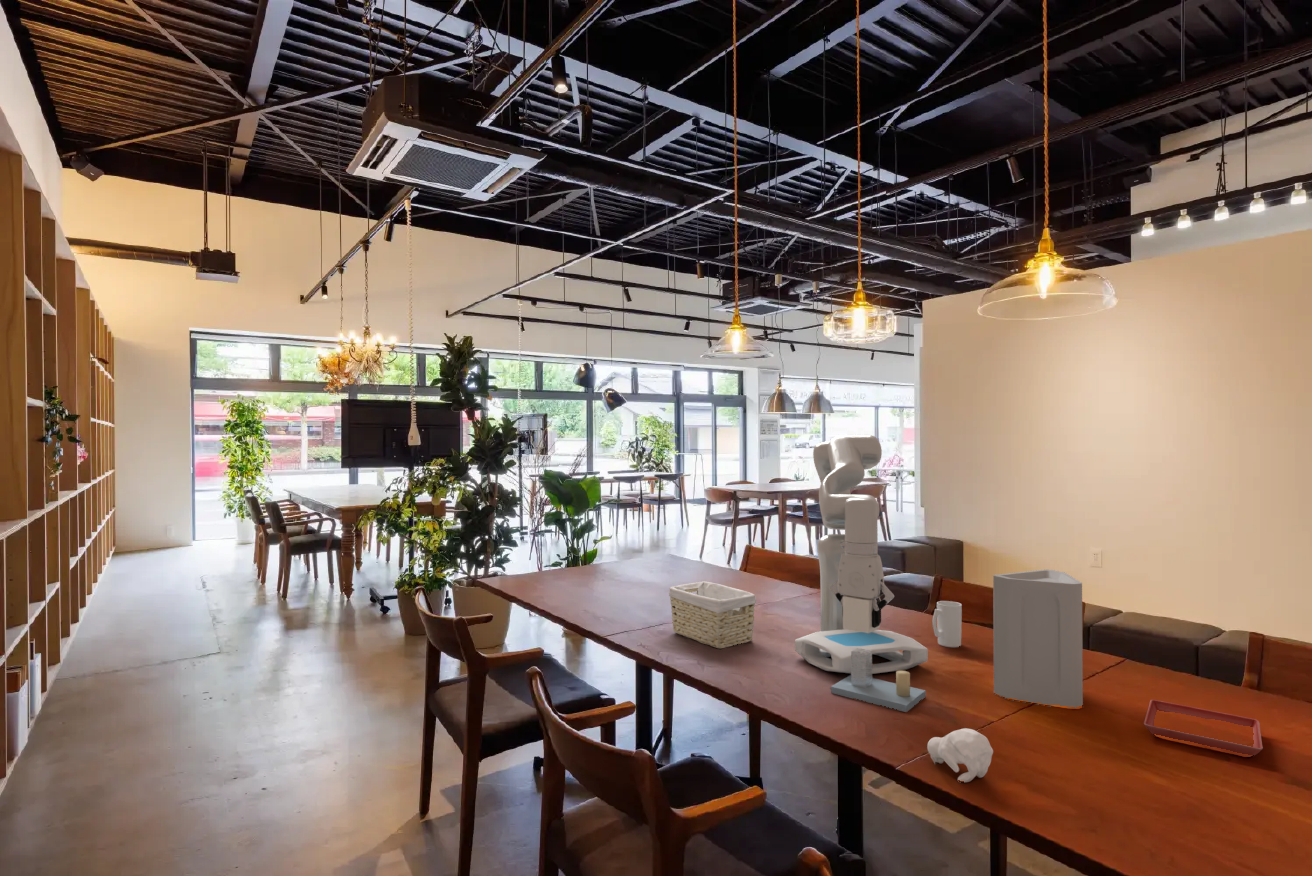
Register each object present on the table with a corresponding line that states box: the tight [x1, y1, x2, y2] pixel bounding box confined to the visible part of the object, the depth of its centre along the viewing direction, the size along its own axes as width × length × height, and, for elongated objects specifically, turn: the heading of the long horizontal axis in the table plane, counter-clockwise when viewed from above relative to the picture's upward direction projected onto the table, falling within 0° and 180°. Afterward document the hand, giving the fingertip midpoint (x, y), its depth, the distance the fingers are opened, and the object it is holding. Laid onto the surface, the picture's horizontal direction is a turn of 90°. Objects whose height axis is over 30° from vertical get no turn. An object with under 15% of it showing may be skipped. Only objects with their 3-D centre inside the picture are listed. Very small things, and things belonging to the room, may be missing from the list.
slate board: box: [830, 670, 927, 713], centre depth 161 cm, size 12×18×6 cm, turn 49°
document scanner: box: [794, 629, 929, 675], centre depth 184 cm, size 21×28×6 cm
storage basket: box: [668, 580, 757, 650], centre depth 209 cm, size 24×16×15 cm
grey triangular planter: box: [992, 569, 1084, 708], centre depth 159 cm, size 19×15×28 cm
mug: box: [931, 600, 963, 648], centre depth 201 cm, size 10×7×12 cm, turn 116°
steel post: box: [850, 648, 873, 688], centre depth 164 cm, size 4×4×8 cm
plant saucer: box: [1143, 699, 1264, 756], centre depth 139 cm, size 18×18×3 cm
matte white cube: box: [843, 596, 881, 633], centre depth 164 cm, size 6×6×8 cm
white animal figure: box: [926, 727, 994, 783], centre depth 124 cm, size 6×8×12 cm
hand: (861, 623), depth 164 cm, fingers closed on matte white cube, 6 cm apart
